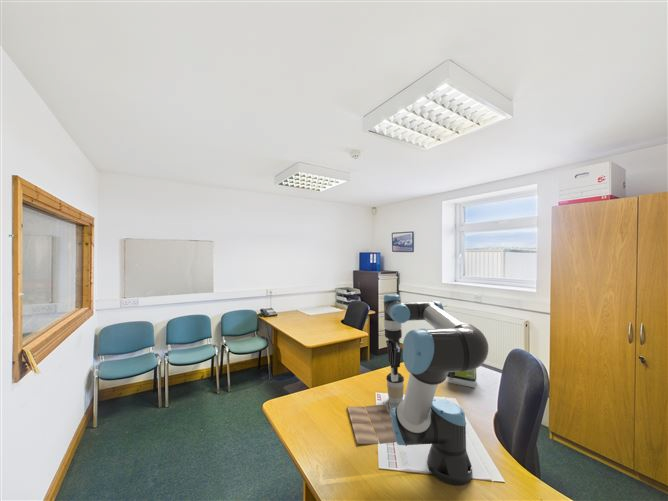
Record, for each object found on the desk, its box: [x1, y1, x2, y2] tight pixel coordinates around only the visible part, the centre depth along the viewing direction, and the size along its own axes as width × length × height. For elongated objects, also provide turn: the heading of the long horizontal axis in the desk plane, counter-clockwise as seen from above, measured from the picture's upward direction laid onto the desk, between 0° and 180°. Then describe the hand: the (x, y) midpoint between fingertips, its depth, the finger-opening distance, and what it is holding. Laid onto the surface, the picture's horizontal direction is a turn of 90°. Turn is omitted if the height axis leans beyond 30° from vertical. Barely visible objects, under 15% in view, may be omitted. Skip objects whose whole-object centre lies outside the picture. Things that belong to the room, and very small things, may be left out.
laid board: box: [364, 404, 396, 445], centre depth 131 cm, size 28×10×1 cm, turn 6°
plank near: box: [351, 423, 380, 446], centre depth 123 cm, size 14×9×1 cm, turn 6°
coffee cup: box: [386, 372, 405, 405], centre depth 149 cm, size 9×9×15 cm
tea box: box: [446, 368, 478, 389], centre depth 170 cm, size 15×10×15 cm, turn 58°
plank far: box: [346, 405, 372, 426], centre depth 137 cm, size 14×9×1 cm, turn 6°
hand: (394, 380), depth 129 cm, fingers closed
